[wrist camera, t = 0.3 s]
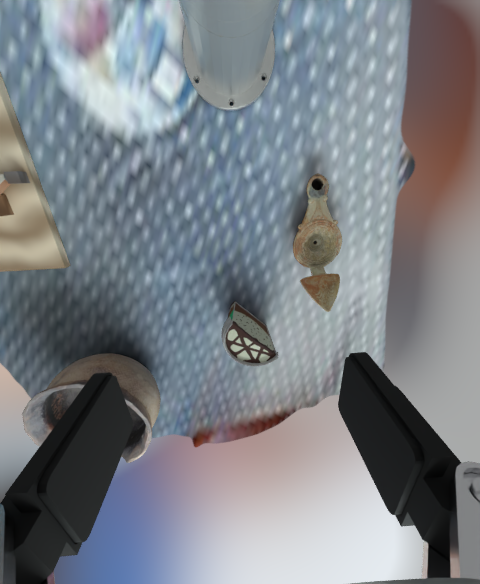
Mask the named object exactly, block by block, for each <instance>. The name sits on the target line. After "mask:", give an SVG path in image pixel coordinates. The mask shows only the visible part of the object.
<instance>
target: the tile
mask: <svg viewBox="0 0 480 584" xmlns="http://www.w3.org/2000/svg"><path fill="white" fill-rule="evenodd" d="M9 185H10V184H8V182H7V179H6V177H5V175H4V174H0V195H1V194H2V193H3V192H4V191H5V190H6V188H7V187H8V186H9Z"/></svg>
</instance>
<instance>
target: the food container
mask: <svg viewBox="0 0 480 584" xmlns="http://www.w3.org/2000/svg"><path fill="white" fill-rule="evenodd" d="M222 342H223V345H224V348H225V350H226V352H227V353H228V354H229V356H230V357H231V358H232V359H233V360H235V361H236V362H238V363H240V364H243V365H247V366H262V365H266V364H268V363H271V362H273V361H274V360H276V359H277V358H278V352H276V350H275V348H274V345H273V342H272V339H271V337H270V334H269V331H268V328H267V326H266V325H265V324H264V323H263V322H261V321H260V320H259V319H257V318H256V317H255V316H254V315H252V314H251V313H250V312H248V311H247V310H246V309H245V308H243V307H242V306H241V305H239V304H238V303H237V302H236V301H234V303H233V304H232V305H231V308H230V310H229V315H228V319H227V320H226V322H225V323H224V326H223V328H222Z"/></svg>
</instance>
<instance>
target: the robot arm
mask: <svg viewBox="0 0 480 584" xmlns="http://www.w3.org/2000/svg"><path fill="white" fill-rule="evenodd" d="M279 2H280V0H179V3H180V6H181V10H182V14H183V17H184V21H185V28H184V33H183V42H182V43H183V57H184V63H185V67H186V70H187V74H188V76H189V78H190V81H191V83H192V85H193V86H194V88H195V90H196V91H197V93H198V94H199V95H200V96H201V97H202V98H203V100H205V101H206V102H207V103H209V104H210V105H211V106H213V107H215V108H217V109H221V110H225V111H236V110H240V109H243V108H245V107H247V106H249V105H250V104H252V103H253V102H254V101H256V100H257V98H258V97H259V96H260V95H261V94H262V92H263V91H264V89H265V87H266V86H267V84H268V81H269V79H270V76H271V73H272V70H273V65H274V59H275V41H274V33H273V30H272V27H273V23H274V20H275V16H276V12H277V9H278V5H279ZM262 78H265V81H262ZM196 80H199V83H196ZM231 102H232V103H233V106H230V103H231ZM338 407H339V411H340V413H341V415H342V418H343V420H344V422H345V424H346V426H347V428H348V430H349V432H350V434H351V436H352V438H353V440H354V442H355V444H356V446H357V448H358V450H359V452H360V454H361V456H362V458H363V460H364V462H365V464H366V466H367V469H368V471H369V472H370V475H371V477H372V479H373V480H374V483H375V485H376V487H377V489H378V491H379V493H380V495H381V497H382V499H383V501H384V503H385V505H386V507H387V509H388V511H389V512H390V513H391V514H392V515H396V517H397V519H398V521H399V523H400V525H401V526H411V525H415V526H416V528H417V530H418V532H419V534H420V535H421V537H422V539H423V540H424V546H423V566H422V579H411V580H410V579H409V580H392V581H375V582H364V583H352V584H480V463H475V462H464V463H461V462H460V461H459V459H458V458H457V457H456V456H455V455H454V453H453V452H452V451H451V450H450V449H449V448H448V446H447V445H446V444H445V443H444V442H443V440H442V439H441V438H440V437H439V436H438V434H437V433H436V432H435V431H434V430H433V429H432V427H431V426H430V425H429V424H428V423H427V421H426V420H425V419H424V418H423V417H422V416H421V414H420V413H419V412H418V411H417V410H416V408H415V407H414V406H413V405H412V404H411V402H410V401H409V400H408V399H407V398H406V396H405V395H404V394H403V393H402V392H401V391H400V390H399V389H398V388H397V387H396V386H394V385H393V384H392V383H391V381H390V380H389V379H388V378H387V376H386V375H385V374H384V373H383V372H382V370H381V369H380V368H379V367H378V366H377V364H376V363H375V362H374V361H373V359H372V358H371V357H370V356H369V355H368V354H367V353H366V352H361V353H351V354H350V355H349V357H346V359H345V364H344V370H343V377H342V383H341V390H340V396H339V402H338ZM132 427H133V420H132V417H131V415H130V412H129V409H128V407H127V404H126V401H125V399H124V396H123V393H122V391H121V388H120V385H119V383H118V380H117V377H116V376H113V375H112V373H110V372H107V373H95V374H93V375H92V376H91V378H90V379H89V380H88V382H87V383H86V384H85V386H84V387H83V388H82V390H81V391H80V393H79V394H78V395H77V397H76V398H75V399H74V401H73V402H72V404H71V405H70V406H69V408H68V409H67V410H66V412H65V413H64V414H63V416H62V417H61V419H60V420H59V421H58V423H57V424H56V425H55V427H54V428H53V430H52V431H51V432H50V434H49V435H48V436H47V438H46V439H45V441H44V442H43V443H42V445H41V446H40V447H39V449H38V450H37V452H36V453H35V454H34V456H33V457H32V458H31V460H30V461H29V462H28V464H27V465H26V467H25V468H24V469H23V471H22V472H21V474H20V475H19V476H18V478H17V479H16V480H15V482H14V483H13V484H12V486H11V487H10V488H9V490H8V491H7V493H6V494H5V495H6V496H5V498H4V499H3V501H2V502H1V503H0V584H55V580H54V568H55V566H56V564H57V562H58V560H59V557H60V556H69V555H77V554H78V551H79V549H80V547H81V544H82V542H84V541H86V540H87V538H88V537H89V535H90V533H91V530H92V528H93V525H94V523H95V520H96V518H97V515H98V513H99V510H100V508H101V506H102V503H103V500H104V498H105V496H106V493H107V491H108V488H109V486H110V483H111V481H112V478H113V476H114V473H115V471H116V468H117V466H118V463H119V461H120V458H121V456H122V453H123V451H124V448H125V446H126V443H127V441H128V438H129V436H130V433H131V431H132Z"/></svg>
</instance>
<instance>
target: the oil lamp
mask: <svg viewBox="0 0 480 584" xmlns="http://www.w3.org/2000/svg"><path fill="white" fill-rule="evenodd" d="M328 188H329V184H328V181H327V179H326V178H325V177H324V176H322V175H320V174H315V175H314V176H312V177H311V178H310V180H309V181H308V184H307V195H308V207H307V211H306V214H305V216H304V219H303V221H302V224H300V225H298V229H299V230H298V232H297V234H296V236H295V239H294V243H293V252H294V256H295V258H296V259H297V261H298V262H299V263H300V264H302V265H303V266H305V267H308V268H310V269H311V273H312V276H310V277H306V278H303V279H301V280H300V282H301V284H302V286H303V288H304V289H305V290H306V292H307V293H308V294H309V295H310V297H311V298H312V299H313V300H314V301H315V302H316V303H317V304H318V305H319V306H320V307H321V308H323V309H324V310H325V311H327V312H329V311H330V310H331V308H332V306H333V304H334V302H335V299H336V297H337V293H338V289H339V283H340V277H339V275H338V274H326V273H325V270H324V266H326V265H328V264H329V263H330V262H332V261H333V260H334V258H335V257H336V256H337V255H338V253H339V251H340V248H341V244H342V236H341V232H340V230H339V228H338V227H337V226H336V225H337V224H338V221H337V220H333V218H332V217H331V215H330V213H329V210H328V207H327V203H326V200H327V199H328V197H327V192H328Z"/></svg>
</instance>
